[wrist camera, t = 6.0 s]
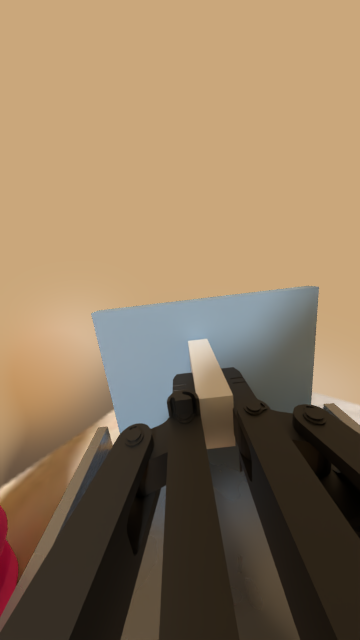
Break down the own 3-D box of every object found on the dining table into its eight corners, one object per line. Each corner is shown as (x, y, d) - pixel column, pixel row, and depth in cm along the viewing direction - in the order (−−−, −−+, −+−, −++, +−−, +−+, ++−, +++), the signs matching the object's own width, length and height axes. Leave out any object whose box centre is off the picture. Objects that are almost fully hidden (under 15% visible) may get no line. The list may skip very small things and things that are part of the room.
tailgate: (294, 405, 18) (299, 285, 15) (309, 422, 16) (318, 286, 13) (128, 422, 18) (103, 308, 15) (121, 441, 16) (91, 313, 13)
